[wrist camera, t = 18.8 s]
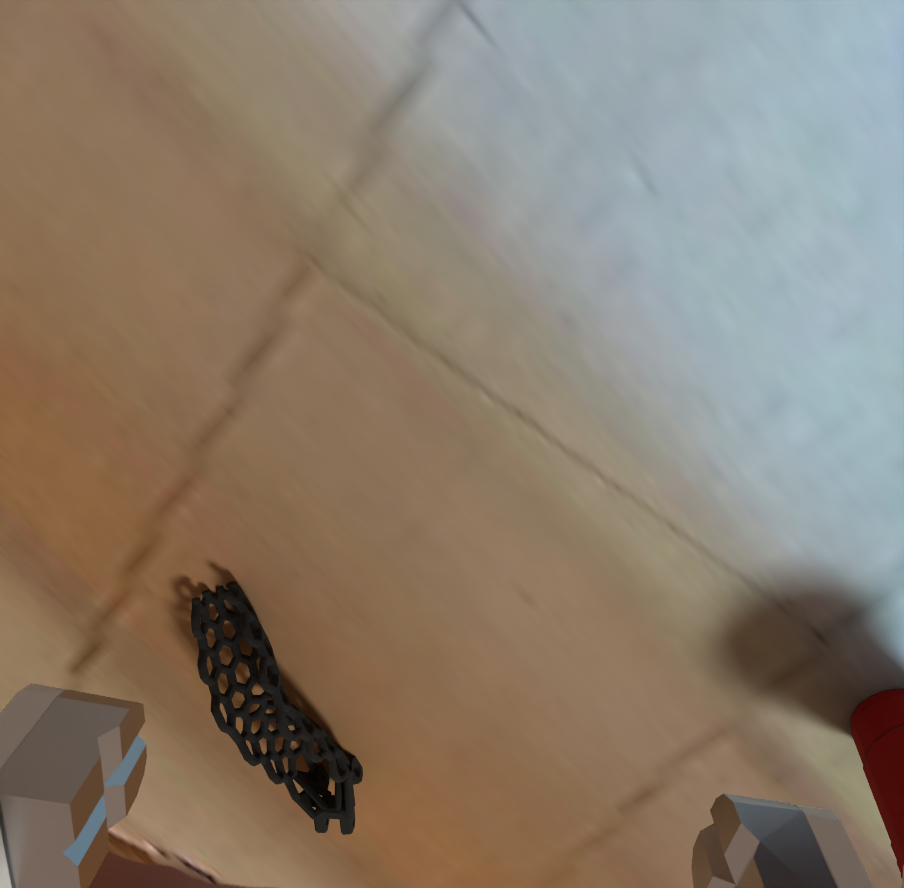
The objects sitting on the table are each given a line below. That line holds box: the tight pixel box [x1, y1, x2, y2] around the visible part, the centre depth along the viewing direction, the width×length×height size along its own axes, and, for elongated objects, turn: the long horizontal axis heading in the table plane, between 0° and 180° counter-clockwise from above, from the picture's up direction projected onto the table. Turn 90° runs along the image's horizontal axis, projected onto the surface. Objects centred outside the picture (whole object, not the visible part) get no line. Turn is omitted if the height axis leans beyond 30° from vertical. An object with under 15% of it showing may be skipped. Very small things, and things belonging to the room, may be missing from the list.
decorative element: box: [191, 582, 363, 835], centre depth 49 cm, size 22×5×6 cm, turn 22°
